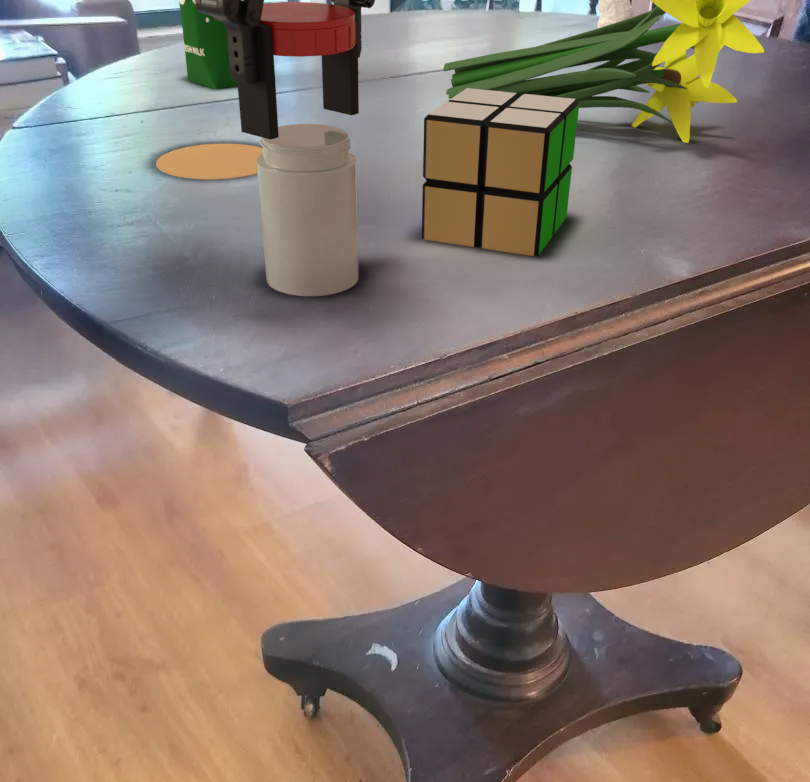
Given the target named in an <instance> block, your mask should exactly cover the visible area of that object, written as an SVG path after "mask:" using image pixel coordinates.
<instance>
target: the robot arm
mask: <svg viewBox="0 0 810 782" xmlns="http://www.w3.org/2000/svg"><path fill="white" fill-rule="evenodd" d="M195 2H196V7H197V9H198V11H199V12H200V13H203V14H208V15H210V16H213V18H214V19H215V20H219V21H223V23H224V24H225V27H226V32H227V43H228V54H229V62H230V63H229V66H230V74H231V76H232V79H233V81H236V82H237V84H238V86H237V94H238V106H239V117H240V118H239V119H240V128H241V129H240V131H241V133H244V134H247V135H252V136H256V137H259V138H261V139H262V138H266V139H270V140H271V139H275V138H278V137H279V133H278V127H279V120H278V104H277V103H278V101H277V88H276V87H277V86H276V71H275V55H274V53H273V36H272V26H270V25H265V24H259V23H260V20H261V15H262V10H263V4H265V0H244V1H242V0H195ZM329 2H331V3H333V5H338V6H343V7H346V8H349V9H351V10H353V11H354V13H355V22H356V44H355V46H354V47H353V48H352V49H350V50H348V51H345V52H341V53H336V54H330V55H322V56H321V77H322V80H321V81H322V105H323V106H322V108H323V110H325V111H326V110H327V111H331V112H335V113H339V114H345V115H349V116H355V115H358V114H360V107H359V105H360V101H359V100H360V99H359V97H360V96H359V91H360V90H359V59H360V58H361V54H362V49H363V47H362V46H363V45H362V8H367V9H371V8H373V7H374V6H375V2H376V0H329Z"/></svg>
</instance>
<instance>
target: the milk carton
mask: <svg viewBox="0 0 810 782" xmlns="http://www.w3.org/2000/svg"><path fill="white" fill-rule="evenodd" d="M242 1H244V0H242ZM178 4H179V11H180V20H181V28H182V35H183V44H184V53H185V56H184V57H185V64H186V75H187V76H186V77H187V81H189V82H192V83H195V84H198V85H200V86H201V85H202V86H204V87H208V88H210V89H213V90H222V89H228V88H229V89H230V88H234V87H238V84H237V82H236V81H233V79H232V76H231V74H230V66H229V63H230V62H229V54H228V43H227V32H226V27H225V24H224V23H223V21H219V20H215V19H214V18H213V16H210V15H208V14H203V13H200V12H199V11H198V9H197V7H196V2H195V0H178Z"/></svg>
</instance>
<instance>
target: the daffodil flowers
mask: <svg viewBox="0 0 810 782" xmlns="http://www.w3.org/2000/svg"><path fill="white" fill-rule="evenodd" d="M650 1H651V2H652V3H653V4H654V5H655V7H654V8H653V9H651V10H649V11H646V12H643V13H640V14H638V15H635V16H633V17H632V18H629V19H626V20H623V21H620V22H617V23H613V24H610V25H607V26H604V27H601V28H598V27H597V28H594V29H591V30H587V31H585V32H581V33H578V34H575V35H571V36H567V37H564V38H560V39H557V40H554V41H551V42H547V43H544V44H541V45H535V46H532V47H531V46H530V47H525V48H520V49H519V48H518V49H515V50H507V51H502V52H496V53H490V54H485V55H480V56H475V57H470V58H465V59H460V60H455V61H450V62H445V64H444V66H443V68H442V69H443V72H448V71H453V70H454V73H453V74H452V76H451V79H450V83H451V86H452V87H449V88H447V89H446V91H445V95H446V96H447V95H448V100H450V99H452V98H453V97H454V96H456V95H457V94H459V93H460V92H462V91H463V90H465V89H466V88H472V89H482V90H492V91H501V92H511V93H517V94H518V95H519V97H521V96H522V95H523V94H532V95H541V96H551V97H561V98H571V99H576V100H577V101H578V102H579V109H587V108H588V109H589V108H624V109H625V108H628V109H635V110H639V113H638V114H637V116H636V117H635V119H634V120H633V122H632V124H630V125H631V127H633V128H637V127H638V126H639V125H640V124H643V123H644V122H646V121H647V120H648V119H650V118H651V117H653V116H656V117H659V118H661V119H663V120H665V121H667V122H668V123H669V122H670V123H672V124H673V127H674V128H675V131H676V133H677V135H678V136H679V138H680V140H681V142H682V143H687V144H689V143H690V139H691V138H690V137H691V121H692V120H691V119H692V109H691V108H695V104H697V103H698V102H699V103H712V104H735V103H738V99H737V98H736V97H735V96H734V95H733V94H732V93H731V92H730V91H729V90H728V89H726V88H725V87H723V86H721V85H720V84H718V83H715V82H712V78H713V75H714V72H715V69H716V65H717V62H718V58H719V57H718V56H719V54H720V51H721V50H722V49H723V48H724V46H726V47H728V48H730V49H732V50H734V51H737V52H742V53H745V54H763V53H765V49H764V47H763V46H762V44H761V43H760V41H759V40H758V39H757V37H756V36H755V35H754V34H753V33H752V32H751V30H750V29H749V28H748V27H747V26H746V25H745V24H744V23H743V22H742V21H741V20H740V19H739V18H738V17H737V16H736V15H734V14H736V13H737V12H738V11H739V10H740V9H742V7H744V6H745V5H747V4H748V3H749V2H750V1H751V0H650ZM665 14H668V15H669V16H671V17H673V18H674V19H675V20H677V21H679V22H680V23H676V24H672V25H667V26H663V27H657V28H652V27H653V26H654V24H656V23H657V22H658V20H660V18H661V17H662V16H664V15H665ZM651 28H652V29H651ZM661 43H663V44H662V45H661V47H660V49H659V50H658V52H651V51H647V50H643V49H638V48H642V47H645V46H650V45H654V44H661ZM689 49H691V50H694V53H693V54H692V55H690V56H689V57H688V56H687V51H688V50H689ZM626 60H632V61H629V62H625V63H623V62H624V61H626ZM601 62H602V63H601ZM603 62H604V63H603ZM595 63H601V64H598V65H596V66H593V67H591V68H588V69H585V70H578V71H573V72H566V73H560V74H554V75H549V76H544V75H548V74H550V73H554V72H556V71H560V70H563V69H564V70H565V69H568V68H574V67H578V66H583V65H588V64H589V65H590V64H595ZM621 63H623V64H621ZM663 63H664V66H663V67H661V66H660V65H661V64H663ZM540 76H543V77H540ZM698 76H699V77H698ZM640 85H647V86H648V87H649V88H651V89H654V90H655V91H654V93H653V94H652V95H651V96H650V98H648V100H647V101H646V103H645V104H644V103H642V102H638V101H634V100H630V99H626V98H622V97H619V96H613V95H612V96H611V95H603V94H606V93H609V92H612V91H616V90H626V91H632V92H639V93H645V94H649V93H651V91H649V90H647V89H645V88H643V87H641V86H640ZM665 107H666V108H667V111H668V113H669V117H670V118H671V119H669V118H668V117H666V116H665V115H663V114H662V113H661V112H660V111H662V110H663V109H664V108H665Z"/></svg>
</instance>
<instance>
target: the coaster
mask: <svg viewBox="0 0 810 782" xmlns="http://www.w3.org/2000/svg"><path fill="white" fill-rule="evenodd" d="M261 154H263V149H262V147H259V146H255V145H250V144H249V145H248V144H242V143H240V144H239V143H207V144H205V143H204V144H198V145H197V144H196V145H190V146H186V147H181V148H178V149H174V150H171V151H169V152H166V153H164V154H162V155H161V156H160V157H158V159H157V160H156V164H155V165H156V168H157V169H158V170H159V171H160V172H162V173H164V174H167V175H170V176H174V177H178V178H183V179H191V180H227V179H237V178H238V179H239V178H244V177H248V176H253V175H257V164H256V160H257V158H258V157H259V156H260V155H261Z"/></svg>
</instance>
